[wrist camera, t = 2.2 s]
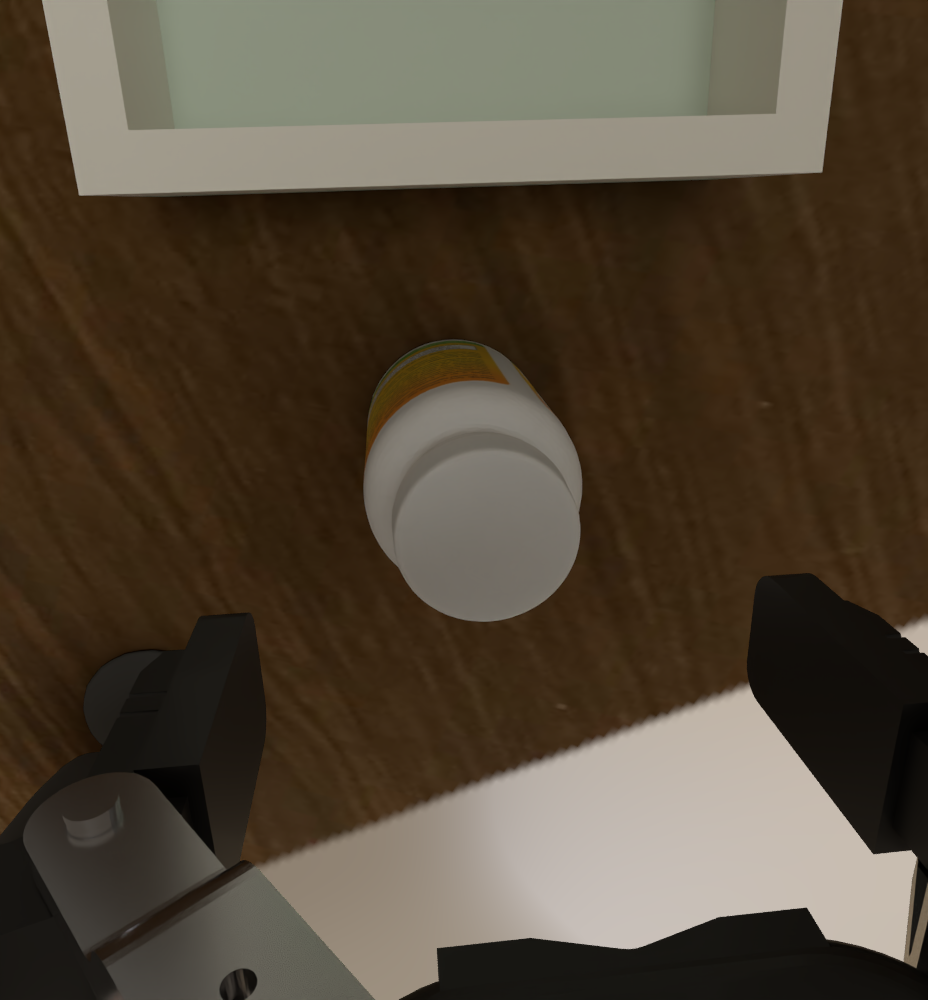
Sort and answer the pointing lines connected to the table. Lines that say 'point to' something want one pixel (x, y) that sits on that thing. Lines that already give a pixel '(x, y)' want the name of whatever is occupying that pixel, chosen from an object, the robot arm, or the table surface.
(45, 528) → the table surface
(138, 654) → the sundae
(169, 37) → the bore box
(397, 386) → the supplement bottle
